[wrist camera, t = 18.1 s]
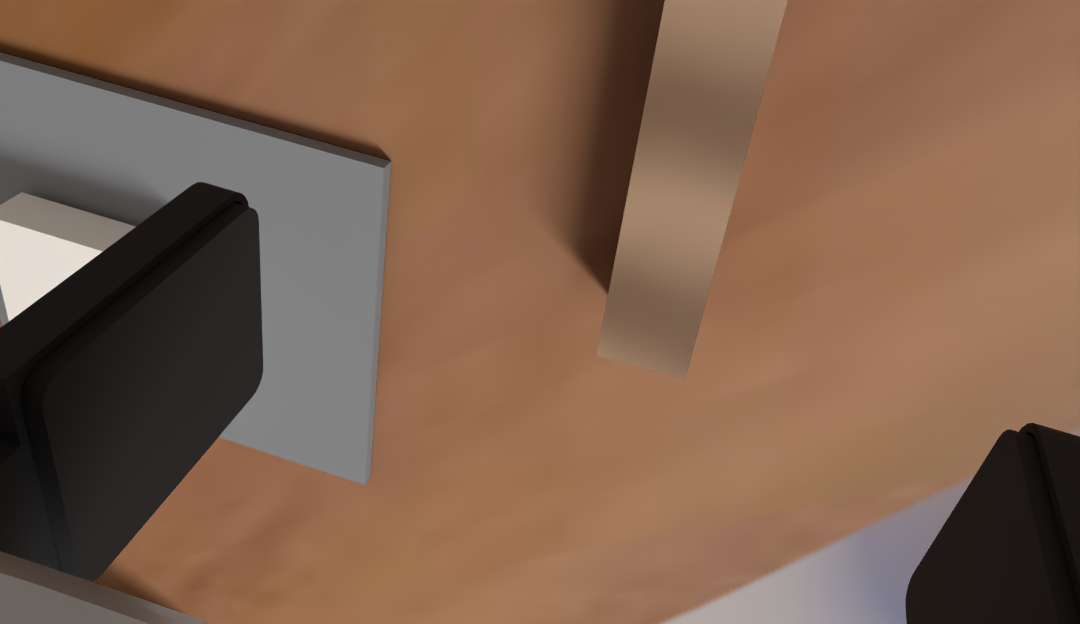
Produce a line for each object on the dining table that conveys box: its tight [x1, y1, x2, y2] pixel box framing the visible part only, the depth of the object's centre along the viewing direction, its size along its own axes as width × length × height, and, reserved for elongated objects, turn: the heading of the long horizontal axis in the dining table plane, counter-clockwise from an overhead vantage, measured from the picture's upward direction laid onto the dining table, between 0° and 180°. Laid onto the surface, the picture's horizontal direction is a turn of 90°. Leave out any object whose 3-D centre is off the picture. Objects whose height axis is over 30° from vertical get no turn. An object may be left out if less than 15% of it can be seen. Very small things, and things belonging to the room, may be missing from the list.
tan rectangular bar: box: [596, 0, 788, 379], centre depth 26 cm, size 18×3×4 cm, turn 173°
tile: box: [0, 192, 136, 321], centre depth 38 cm, size 2×8×10 cm
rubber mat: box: [0, 52, 391, 485], centre depth 38 cm, size 16×18×1 cm
